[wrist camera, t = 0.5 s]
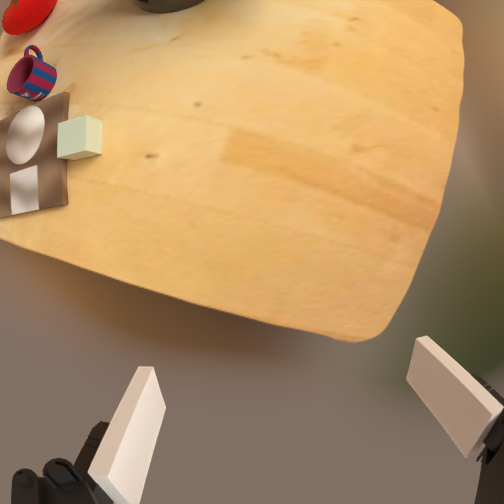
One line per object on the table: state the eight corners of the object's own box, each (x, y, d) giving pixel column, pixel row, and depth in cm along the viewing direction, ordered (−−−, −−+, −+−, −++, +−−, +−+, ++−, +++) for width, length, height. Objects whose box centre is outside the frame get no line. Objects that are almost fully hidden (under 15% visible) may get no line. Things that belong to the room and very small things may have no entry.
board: (2, 123, 31) (-4, 122, 30) (69, 94, 32) (64, 91, 30) (1, 217, 35) (-5, 218, 33) (68, 204, 36) (61, 204, 34)
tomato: (72, 0, 27) (48, -23, 17) (26, 48, 28) (-4, 32, 18) (55, -12, 25) (33, -33, 15) (13, 31, 26) (-13, 16, 16)
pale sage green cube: (75, 128, 33) (58, 123, 28) (102, 121, 33) (86, 114, 29) (75, 160, 34) (57, 157, 29) (102, 154, 34) (85, 150, 30)
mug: (27, 106, 31) (3, 98, 25) (36, 59, 29) (15, 47, 23) (54, 95, 32) (30, 85, 25) (63, 46, 29) (43, 32, 23)
